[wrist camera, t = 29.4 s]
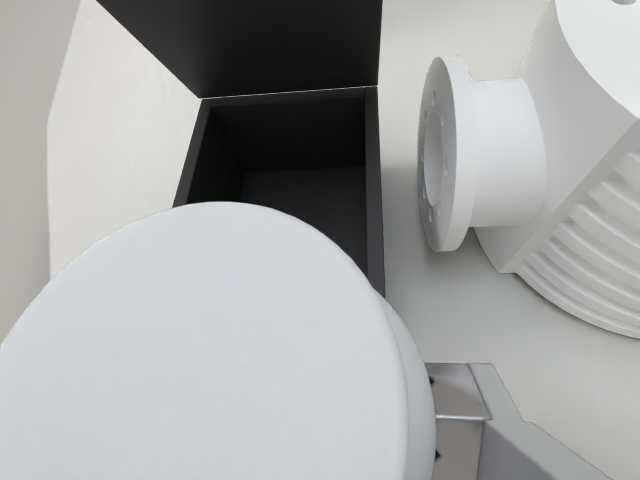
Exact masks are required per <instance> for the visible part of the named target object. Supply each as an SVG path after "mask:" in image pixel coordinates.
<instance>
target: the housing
mask: <svg viewBox="0 0 640 480" xmlns="http://www.w3.org/2000/svg"><path fill="white" fill-rule="evenodd" d="M418 189H419V201H420V210H421V217H422V222H423V227H424V232H425V235H426V238H427V241H428V243H429V245H430V247H431V248H432V250H433V251H436V252H438V251H454V250H456V249H457V248H458V247H459V246H460V245H461V243H462V241H463V240H464V238H465V235H466V232H467V229H468V227H474V230H475V233H476V235H477V237H478V240H479V242H480V245H481V247H482V248H483V250H484V252H485V254H486V256H487V257H488V259H489V261H490V262H491V263H492V265H493V266H494V268H495V269H496V270H497V272H498V273H518V274H519V275H520V276H521V277H522V278H523V279H524V280H525V281H526V283H527V284H529V285H530V286H531V287H532V288H534V289H535V290H536V291H537V292H538V293H540V294H541V295H542V296H543V297H545V298H546V299H548V300H549V301H551V302H552V303H554V304H555V305H557V306H558V307H560V308H561V309H563V310H565V311H567V312H568V313H570V314H572V315H574V316H576V317H578V318H580V319H582V320H584V321H586V322H588V323H591V324H593V325H596V326H598V327H601V328H603V329H606V330H609V331H612V332H616V333H619V334H623V335H626V336H630V337H634V338H639V339H640V0H548V2H547V4H546V7H545V9H544V11H543V13H542V16H541V18H540V20H539V23H538V25H537V27H536V30H535V32H534V34H533V37H532V39H531V41H530V44H529V46H528V48H527V51H526V53H525V55H524V58H523V60H522V62H521V65H520V67H519V69H518V72H517V74H516V76H515V78H511V79H500V80H489V81H477V82H472V80H471V76H470V73H469V70H468V67H467V65H466V64H465V62H464V60H463V59H462V58H461V57H459V56H447V57H437V58H435V59H434V60H433V61H432V63H431V65H430V67H429V70H428V72H427V75H426V79H425V83H424V88H423V94H422V100H421V107H420V117H419V129H418Z"/></svg>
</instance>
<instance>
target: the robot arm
mask: <svg viewBox="0 0 640 480" xmlns="http://www.w3.org/2000/svg"><path fill="white" fill-rule="evenodd" d="M424 364H425V367H426V370H427V374H428V378H429V381H430V385H431V389H432V394H433V401H434V409H435V421H436V451H435V461H434V468H433V474H432V479H431V480H612V479H611V478H610V477H608V476H607V475H605V474H604V473H603V472H601V471H600V470H598V469H597V468H596V467H594V466H593V465H591V464H590V463H589V462H587V461H586V460H584V459H583V458H582V457H580V456H579V455H577V454H576V453H575V452H573V451H572V450H570V449H569V448H568V447H566V446H565V445H563V444H562V443H561V442H559V441H558V440H556V439H555V438H554V437H552V436H551V435H549V434H548V433H547V432H545V431H544V430H542V429H541V428H540V427H538V426H537V425H535V424H534V423H532V422H524V420H523V419H522V417H521V415H520V413H519V411H518V409H517V407H516V406H515V404H514V402H513V400H512V398H511V396H510V394H509V393H508V391H507V389H506V387H505V385H504V383H503V381H502V380H501V378H500V376H499V374H498V372H497V370H496V368H495V367H494V365H492V364H491V363H466V364H461V363H426V362H424Z"/></svg>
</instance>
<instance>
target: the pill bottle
mask: <svg viewBox="0 0 640 480" xmlns="http://www.w3.org/2000/svg"><path fill="white" fill-rule="evenodd" d="M435 451H436V421H435V409H434V401H433V394H432V389H431V385H430V381H429V378H428V374H427V370H426V367H425V364H424V361H423V358H422V356H421V354H420V352H419V350H418V347H417V345H416V343H415V341H414V339H413V337H412V335H411V333H410V332H409V330H408V329H407V327H406V325H405V324H404V322H403V321H402V319H401V318H400V317H399V315H398V314H397V313H396V312H395V310H394V309H393V308H392V307H391V305H390V304H389V303H388V302H387V301H386V300H385V299H384V298H383V297H382V296H381V295H380V294H379V293H378V292H377V291H376V290H375V289H374V288H373V287H372V286H371V284H370V283H369V281H368V280H367V278H366V276H365V275H364V274H363V272H362V271H361V270H360V269H359V267H358V266H357V265H356V264H355V263H354V261H353V260H352V259H351V258H350V257H349V256H348V255H347V254H346V253H345V252H344V251H343V250H342V249H341V248H340V247H339V246H338V245H337V244H335V243H334V242H333V241H332V240H330V239H329V238H328V237H327V236H325V235H324V234H323V233H321V232H320V231H318V230H317V229H315V228H314V227H312V226H311V225H309V224H307V223H305V222H303V221H301V220H299V219H298V218H296V217H293V216H291V215H288V214H285V213H283V212H280V211H277V210H275V209H272V208H268V207H263V206H259V205H253V204H247V203H238V202H204V203H195V204H187V205H183V206H179V207H175V208H171V209H167V210H163V211H160V212H157V213H154V214H152V215H149V216H147V217H144V218H142V219H140V220H137V221H135V222H132V223H130V224H128V225H126V226H124V227H122V228H119V229H118V230H116V231H114V232H112V233H111V234H109V235H107V236H106V237H104V238H103V239H101V240H100V241H98V242H97V243H95V244H94V245H92V246H91V247H89V248H88V249H86V250H85V251H84V252H82V253H81V254H80V255H79V256H77V257H76V258H75V259H74V260H72V261H71V262H70V263H69V264H68V265H67V266H66V267H64V268H63V269H62V270H61V271H60V272H59V273H58V274H57V275H56V276H55V277H54V278H53V279H52V280H51V281H50V282H49V283H48V284H47V285H46V286H45V287H44V289H43V290H42V291H41V292H40V293H39V295H38V296H37V297H36V298H35V299H34V300H33V302H32V303H31V304H30V305H29V306H28V307H27V309H26V310H25V311H24V312H23V313H22V314H21V316H20V318H19V319H18V320H17V322H16V323H15V325H14V326H13V328H12V329H11V331H10V332H9V334H8V335H7V337H6V338H5V340H4V341H3V343H2V345H1V346H0V480H431V479H432V474H433V468H434V461H435Z"/></svg>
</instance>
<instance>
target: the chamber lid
mask: <svg viewBox="0 0 640 480" xmlns="http://www.w3.org/2000/svg"><path fill="white" fill-rule="evenodd" d="M96 1H97V2H98V3H99V4H100V5H102V6H103V7H104V8H105V9H106V10H107V11H108V12H109V13H110V14H111V15H112V16H113V17H114V18H115V19H116V20H117V21H118V22H119V23H120V24H121V25H122V26H123V27H125V28H126V29H127V30H128V31H129V32H130V33H131V34H132V35H133V36H134V37H135V38H136V39H137V40H138V41H139V42H140V43H141V44H142V45H143V46H144V47H145V48H146V49H148V50H149V51H150V52H151V53H152V54H153V55H154V56H155V57H156V58H157V59H158V60H159V61H160V62H161V63H162V64H163V65H164V66H165V67H166V68H167V69H168V70H170V71H171V72H172V73H173V74H174V75H175V76H176V77H177V78H178V79H179V80H180V81H181V82H182V83H183V84H184V85H185V86H186V87H187V88H188V89H189V90H190V91H191V92H193V93H194V94H195V95H196V96H197V97H198V98H213V97H226V96H240V95H254V94H268V93H281V92H295V91H309V90H322V89H336V88H350V87H364V86H377V85H378V70H379V54H380V37H381V20H382V3H383V0H96Z"/></svg>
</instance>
